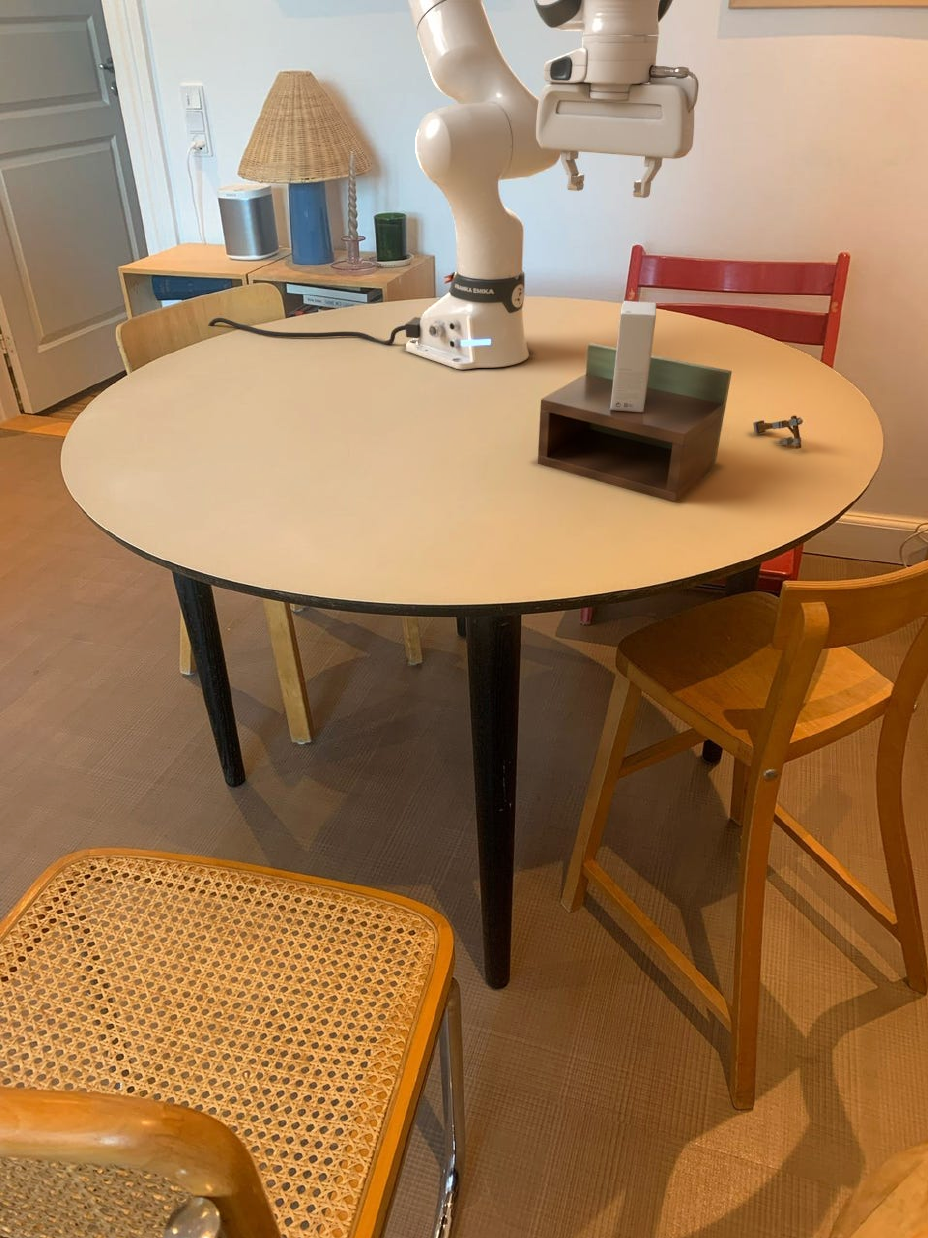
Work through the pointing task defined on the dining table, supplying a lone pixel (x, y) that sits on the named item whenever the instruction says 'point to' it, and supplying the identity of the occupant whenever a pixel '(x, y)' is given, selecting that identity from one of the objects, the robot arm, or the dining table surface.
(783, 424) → the wooden post with brackets
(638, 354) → the cosmetic box
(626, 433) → the shelf
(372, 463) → the dining table surface
